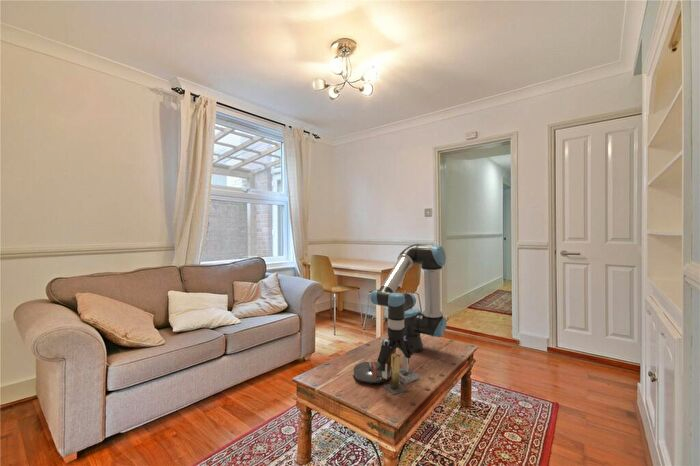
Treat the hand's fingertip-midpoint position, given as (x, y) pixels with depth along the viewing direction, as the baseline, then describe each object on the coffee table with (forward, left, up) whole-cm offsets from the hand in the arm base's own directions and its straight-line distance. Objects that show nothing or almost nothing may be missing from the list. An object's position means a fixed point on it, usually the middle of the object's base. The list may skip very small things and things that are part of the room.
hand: (395, 374), depth 137 cm
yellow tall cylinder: (0, 0, -6) cm, 6 cm away
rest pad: (0, 0, -7) cm, 7 cm away
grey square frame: (-11, -5, -7) cm, 14 cm away
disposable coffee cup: (-14, -22, -7) cm, 27 cm away
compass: (+3, -14, -5) cm, 15 cm away
